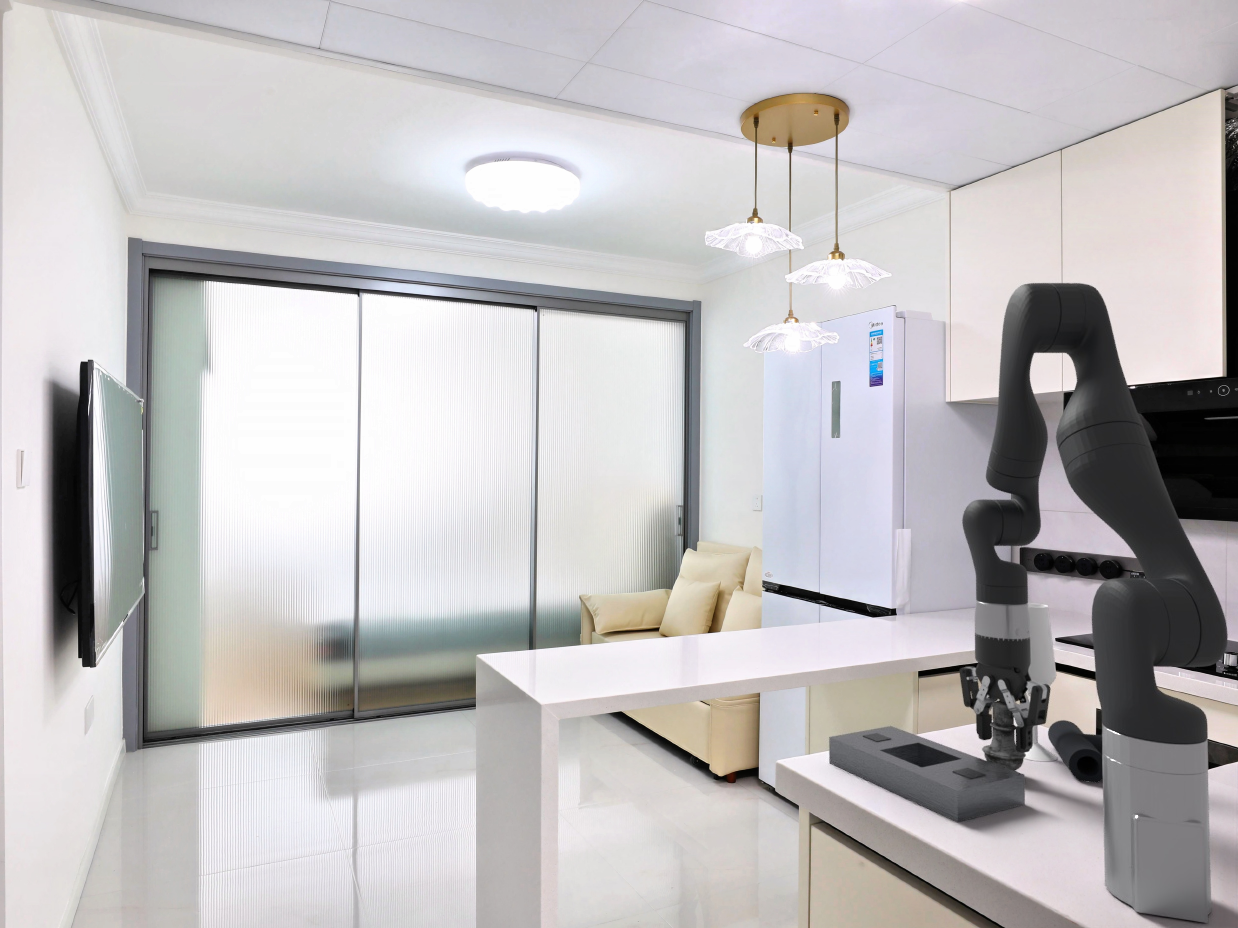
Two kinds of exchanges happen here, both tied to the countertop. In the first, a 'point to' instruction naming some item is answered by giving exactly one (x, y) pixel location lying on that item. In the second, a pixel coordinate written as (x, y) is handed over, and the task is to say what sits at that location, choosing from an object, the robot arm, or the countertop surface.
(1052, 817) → the countertop surface
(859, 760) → the gray slotted block
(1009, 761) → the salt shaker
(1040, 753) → the champagne flute
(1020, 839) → the countertop surface
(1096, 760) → the pipe connector
